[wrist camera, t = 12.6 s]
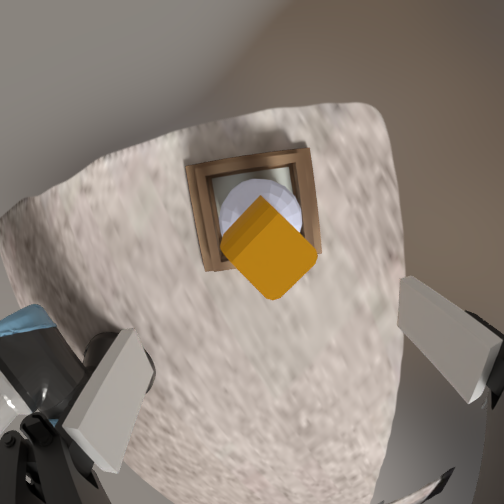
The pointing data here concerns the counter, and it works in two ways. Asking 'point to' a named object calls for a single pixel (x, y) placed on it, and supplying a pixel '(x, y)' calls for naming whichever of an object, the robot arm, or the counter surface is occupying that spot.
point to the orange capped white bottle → (265, 236)
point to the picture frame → (241, 169)
